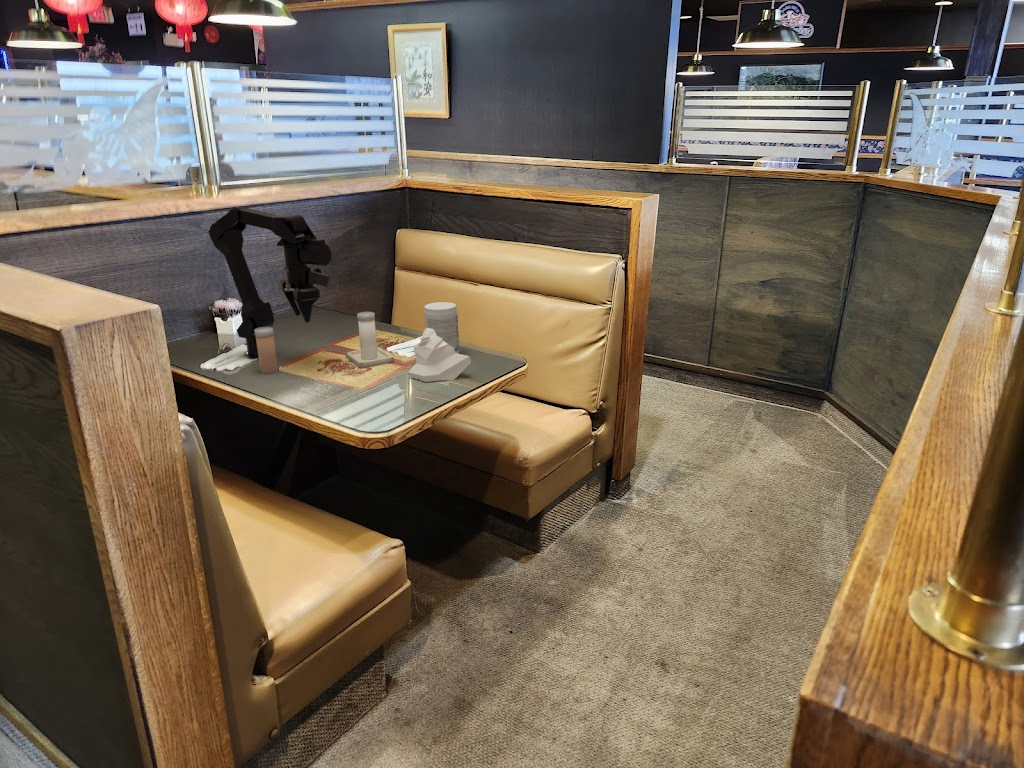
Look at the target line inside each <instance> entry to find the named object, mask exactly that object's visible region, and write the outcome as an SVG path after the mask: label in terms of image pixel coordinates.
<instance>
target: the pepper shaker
mask: <svg viewBox="0 0 1024 768" xmlns="http://www.w3.org/2000/svg"><path fill="white" fill-rule="evenodd" d="M254 331H255V336H256V342H257V349H258V356H259V357H258V362H259V371H260V373H261V374H265V373H269V374H274V373H277V372H279V367H278V366H279V365H278V359H277V352H276V344H275V337H274V328H273V327H259V328H256V329H255V330H254ZM276 371H277V372H276ZM273 372H274V373H273ZM265 375H266V374H265Z"/></svg>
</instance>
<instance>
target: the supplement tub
mask: <svg viewBox="0 0 1024 768" xmlns="http://www.w3.org/2000/svg"><path fill="white" fill-rule="evenodd" d="M423 307H424V314H423V317H424V327H425V329H426V328H431V329H434V331H435V333H436V335H437V336H438V337H440V338H442V339H443V341H444V342H446V343H447V344H448V345H450V346H452V347H453V348H454V350H455V352H456V353H458V354H460V338H459V337H460V336H459V317H458V308H457V307H458V306H457V304H456V303H454V302H449V301H438V302H431V303H428V304H425V305H424V306H423ZM425 329H424V330H425Z"/></svg>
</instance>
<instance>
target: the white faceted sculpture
mask: <svg viewBox="0 0 1024 768" xmlns="http://www.w3.org/2000/svg"><path fill="white" fill-rule="evenodd" d="M419 340H420V341H419V342H418V343H417V344H415V345H414V346H413V351H414V355H415V358H416V359H415V360H416V361H415V363H414V365H413V366H412V367H411V368H410V370H409V371H407V372H408V376H409V378H410V377H412V378H411V379H413V378H415V379H414V380H417V379H419V380H418V381H421V382H425V383H428V382H436V381H454V380H456V379H457V377H458V376H459V375H460V374H461V373H462V372H464V370H465V369H466V368H467V367H468V366H469V365H470V364H471V363H472V360H471V357H470V355H466V354H462V353H456V352H455V350H454V348H453V347H452V346H450V345H448V344H447V343H446V342H444V341H443V339H442V338H440V337H438V336H437V335H436V333H435V331H434V329H431V328H426V329H424V330H423V333H422V336H420V337H419Z"/></svg>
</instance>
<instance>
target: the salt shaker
mask: <svg viewBox="0 0 1024 768" xmlns="http://www.w3.org/2000/svg"><path fill="white" fill-rule="evenodd" d="M375 315H376V314H375V312H373V311H360V312H358V313H357V314H356V316H357V322H358V333H359V335H358V336H359V346H360V350H361V359H363V360H374V359H376V358H378V355H377V347H378V345H377V334H376V320H375V319H376V317H375Z"/></svg>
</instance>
